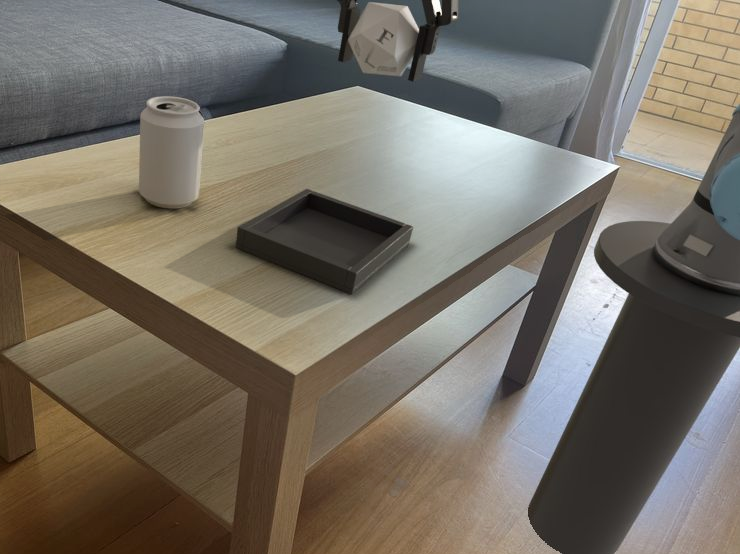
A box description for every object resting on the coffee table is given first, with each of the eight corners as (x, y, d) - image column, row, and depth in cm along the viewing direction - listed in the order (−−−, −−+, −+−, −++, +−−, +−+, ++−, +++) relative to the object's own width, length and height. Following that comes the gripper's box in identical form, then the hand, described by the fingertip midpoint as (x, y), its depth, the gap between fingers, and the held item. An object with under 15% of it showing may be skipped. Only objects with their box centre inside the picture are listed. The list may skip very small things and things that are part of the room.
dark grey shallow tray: (408, 245, 89) (413, 226, 87) (351, 294, 77) (356, 273, 76) (303, 207, 94) (306, 188, 93) (235, 247, 82) (237, 226, 81)
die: (330, 68, 97) (352, 13, 87) (362, 27, 100) (387, -30, 91) (382, 104, 97) (410, 53, 87) (413, 62, 100) (443, 8, 90)
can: (160, 181, 95) (164, 89, 88) (209, 197, 93) (217, 104, 86) (126, 199, 89) (127, 101, 82) (178, 217, 87) (183, 117, 80)
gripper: (319, -147, 85) (293, 53, 97) (502, -120, 76) (447, 96, 89) (349, -143, 90) (320, 46, 103) (522, -117, 82) (467, 86, 94)
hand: (379, 69), depth 96 cm, fingers closed on die, 10 cm apart
